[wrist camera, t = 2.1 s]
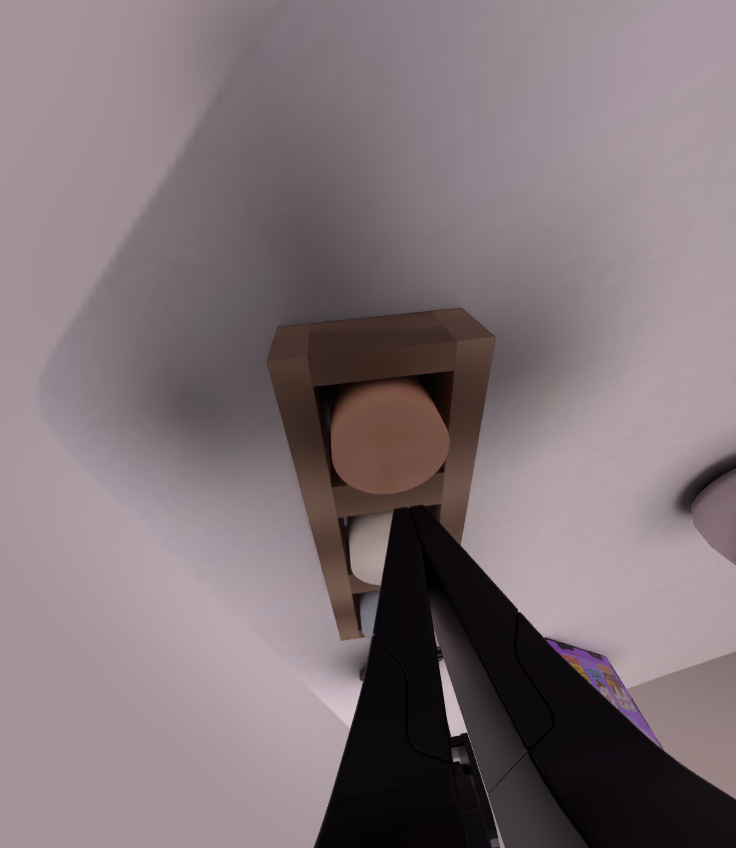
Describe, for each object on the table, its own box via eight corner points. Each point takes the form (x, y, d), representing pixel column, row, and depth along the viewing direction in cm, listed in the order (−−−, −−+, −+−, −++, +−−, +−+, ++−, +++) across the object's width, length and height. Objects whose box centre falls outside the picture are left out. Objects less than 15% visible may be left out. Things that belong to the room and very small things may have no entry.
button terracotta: (428, 444, 14) (445, 486, 12) (336, 456, 14) (339, 500, 12) (432, 360, 12) (454, 395, 10) (323, 372, 12) (323, 410, 10)
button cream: (423, 535, 18) (436, 578, 16) (351, 545, 18) (354, 590, 16) (425, 484, 16) (441, 527, 14) (343, 495, 16) (346, 541, 14)
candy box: (500, 659, 35) (608, 942, 22) (547, 635, 33) (698, 937, 20) (566, 675, 42) (682, 905, 28) (609, 656, 39) (758, 897, 26)
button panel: (434, 580, 24) (447, 623, 22) (339, 594, 24) (341, 640, 21) (462, 307, 13) (495, 337, 10) (277, 327, 12) (266, 362, 10)
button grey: (420, 594, 22) (430, 635, 20) (360, 603, 22) (364, 646, 20) (422, 560, 20) (433, 603, 18) (355, 570, 20) (359, 614, 18)
